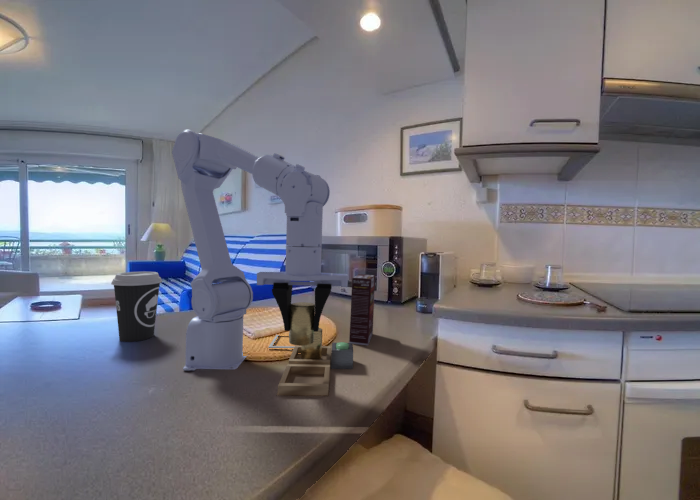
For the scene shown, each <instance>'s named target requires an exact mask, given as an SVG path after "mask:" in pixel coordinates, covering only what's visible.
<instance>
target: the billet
mask: <svg viewBox="0 0 700 500" xmlns="http://www.w3.org/2000/svg"><path fill="white" fill-rule="evenodd" d="M314 316H315V303H312V302H306V301H305V302H304V301H303V302H302V301H298V302H293V303H292V302H291V304H290V329H289V331H288V333H289V337H288V342H289V344H291V345H293V346H303V345H309V344H312V343H313V342H314V332H313V326H314Z"/></svg>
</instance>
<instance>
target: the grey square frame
mask: <svg viewBox="0 0 700 500" xmlns="http://www.w3.org/2000/svg"><path fill="white" fill-rule="evenodd" d="M278 336H279V335H277V334H276V335H275V336H274V338H273V339H272V341H271V342H270V344H269V346H268V348H294V347H295V346H296V345H293V346H292V345H287V346H286V345H274V346H273V344H274V342H275V341H276V339H277V337H278ZM276 342H277V341H276ZM268 348H267V349H268Z"/></svg>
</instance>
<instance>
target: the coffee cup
mask: <svg viewBox="0 0 700 500" xmlns="http://www.w3.org/2000/svg"><path fill="white" fill-rule="evenodd" d="M161 283H163V280H162V277H161V276H160V275H159V273H158V271H157V272H156V271H127V272H119V273H118V272H117V273H116V274H115V277H114V278H113V279H112V281H111V285H112V286H113V291H114V299H115V306H116V309H115V310H116V318H117V327H118V328H117V330H118V336H119V337H118V338H119V341H120V342H123V343H133V342H140V341H145V340H148V339H151V338H153V337H154V336H155V330H156V329H155V327H156V318H157V311H158V310H157V309H158V303H159V301H158V300H159V292H160V285H161Z"/></svg>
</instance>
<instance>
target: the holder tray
mask: <svg viewBox="0 0 700 500" xmlns="http://www.w3.org/2000/svg"><path fill="white" fill-rule="evenodd" d="M294 346H295V347H294V349H293V350H292V352H291V354H290V356H289V359H288V363H287V364H286V365H285V369H284V371H283V373H282V375H281V377H280V380H279V383H278V385H277V393H276V397H330V390H331V388H330V387H331V376H332V375H331V374H332V369H331V357H332V345H331V346H329V345H328V346H327V345H326V346H325V345H324V346H323V345H322V360H315V359H301V354H298V353H301V346H298V345H294Z"/></svg>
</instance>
